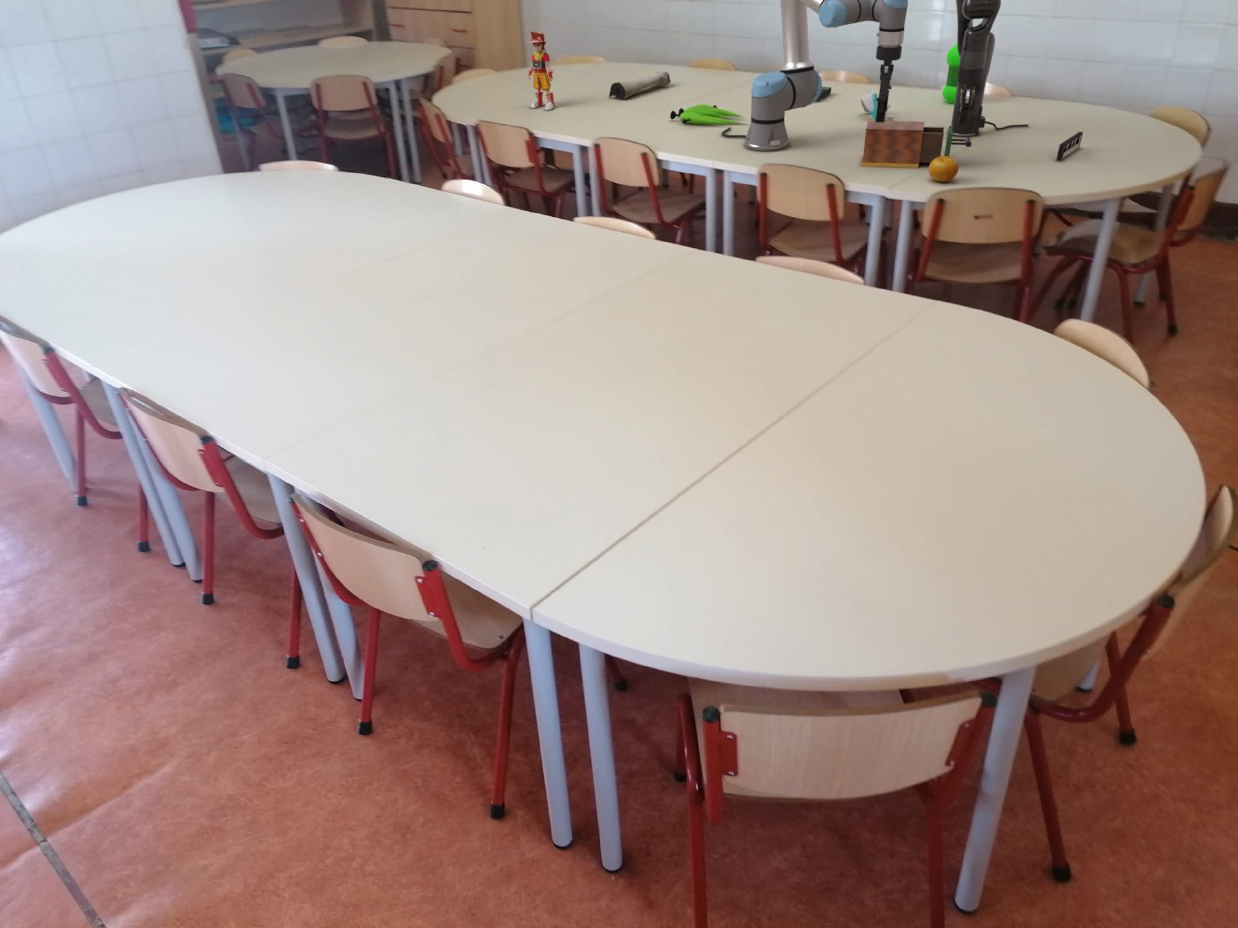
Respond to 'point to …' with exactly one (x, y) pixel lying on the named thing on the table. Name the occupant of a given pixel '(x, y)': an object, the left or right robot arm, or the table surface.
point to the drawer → (937, 143)
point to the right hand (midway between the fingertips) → (962, 124)
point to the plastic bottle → (952, 75)
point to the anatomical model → (873, 105)
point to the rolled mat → (638, 84)
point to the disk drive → (824, 92)
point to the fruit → (943, 169)
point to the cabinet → (893, 143)
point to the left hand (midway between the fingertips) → (881, 116)
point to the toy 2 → (704, 115)
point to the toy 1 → (541, 71)
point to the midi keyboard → (1069, 145)
